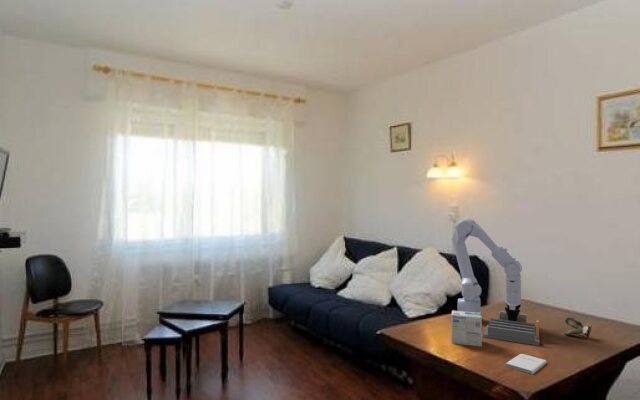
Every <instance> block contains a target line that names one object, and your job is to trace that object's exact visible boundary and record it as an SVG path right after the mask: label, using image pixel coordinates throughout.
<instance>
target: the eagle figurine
mask: <svg viewBox="0 0 640 400" xmlns="http://www.w3.org/2000/svg"><path fill="white" fill-rule="evenodd" d="M564 322H565V324H566V325H567V326H569V327H571V328H573V329H571V330H570V329H569V330H568V331H566V332H563V333H564V335H563V336H569V335H570V336H571V335H574V336H575V335H578V336H579V335H580V334H583V335H584V336H586V337H587V339H588V338H589V339H590V335H591V331H592V328H593V324H591V325H588V326H587V325H586V326H585V325H583V324H582V323H581V322H580V321H578V320H576V319H575V318H573V317H567V318H565V320H564Z"/></svg>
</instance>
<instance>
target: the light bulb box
mask: <svg viewBox="0 0 640 400" xmlns="http://www.w3.org/2000/svg"><path fill="white" fill-rule="evenodd" d="M450 317H451V325H450V326H451V328H450V329H451V344H455V345H463V346H473V347H483V325H482V323H483V317H482V312H480V313H475V312H463V311H457V310H454V309H453V310H451V316H450Z"/></svg>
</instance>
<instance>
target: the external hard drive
mask: <svg viewBox="0 0 640 400" xmlns="http://www.w3.org/2000/svg"><path fill="white" fill-rule="evenodd" d="M546 364H547V360H546V359H544V358H543V359H542V358H539V357H535V356H533V355H529V354H524V353H519V354H517V356H515V357H513V358H512V359H509V361H507V362H506V363H505V365H504V366H505V367H507V368H510V369H513V370H517V371H520V372H523V373H527V374H530V375H534V374H536V372H538V371H539V370H540V369H541V368H543V367H545V366H546Z"/></svg>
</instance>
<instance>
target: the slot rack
mask: <svg viewBox="0 0 640 400" xmlns="http://www.w3.org/2000/svg"><path fill="white" fill-rule="evenodd" d="M535 322H536V323H533V322H532V323H530V322H526V323H524V322H516V321H509V320H501V319H500V318H493V317H490V320H489V323H488V324H486V327H485V329H484V332H483V333H482V338H486V339H487V338H488V339H494V340H500V341H508V342H513V343H518V344H525V345H534V346H540V329H539V328H540V321H539V319H536V321H535Z"/></svg>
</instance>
